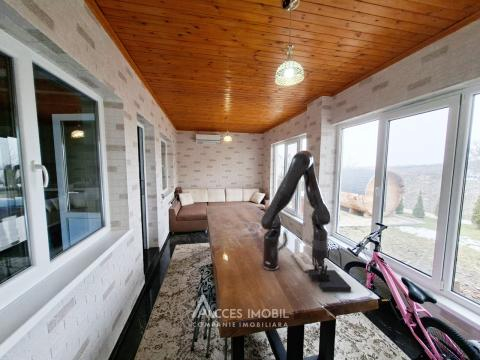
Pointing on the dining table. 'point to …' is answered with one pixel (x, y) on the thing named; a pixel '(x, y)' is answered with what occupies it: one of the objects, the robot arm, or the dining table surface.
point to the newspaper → (304, 261)
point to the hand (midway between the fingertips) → (318, 277)
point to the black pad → (314, 275)
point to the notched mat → (334, 283)
